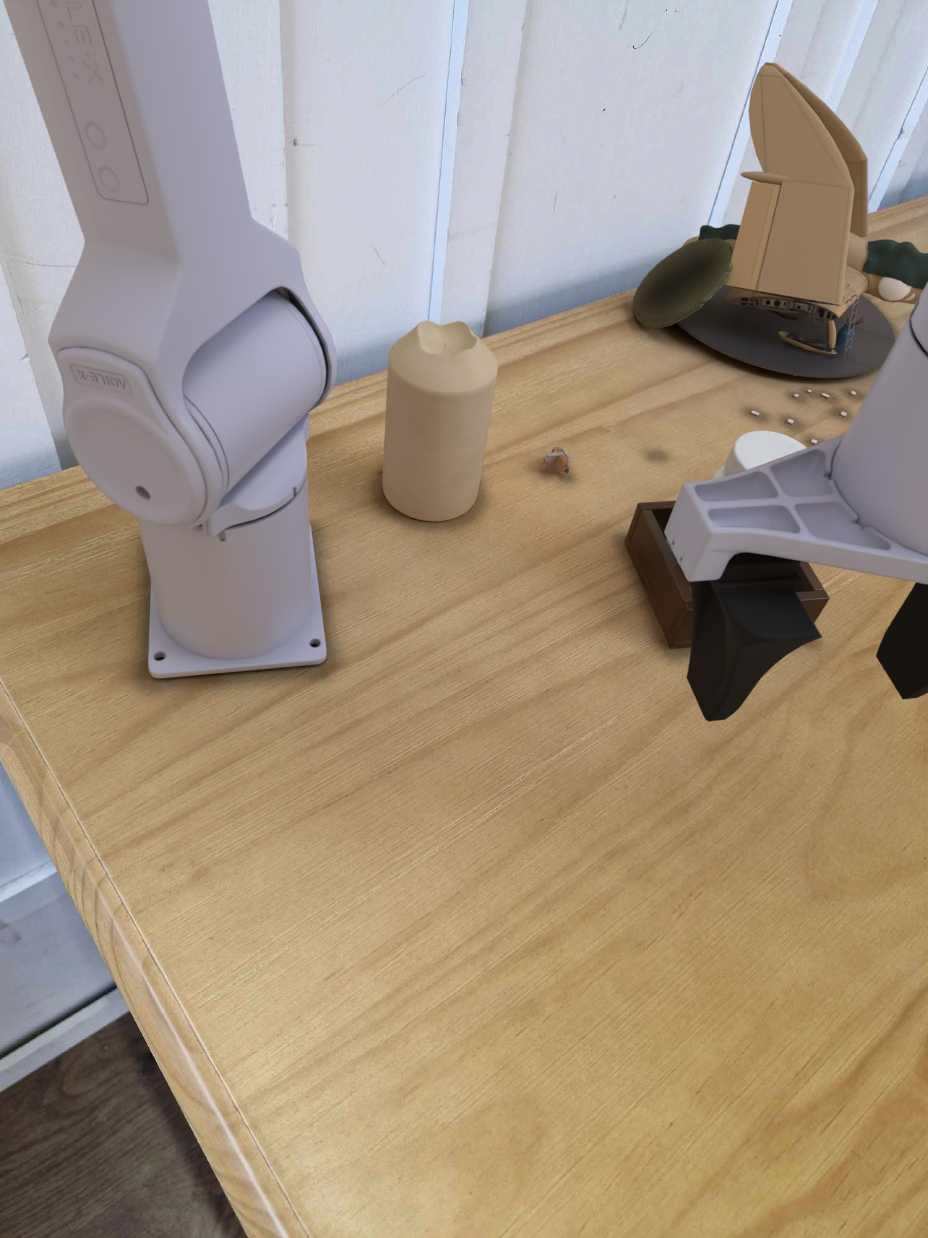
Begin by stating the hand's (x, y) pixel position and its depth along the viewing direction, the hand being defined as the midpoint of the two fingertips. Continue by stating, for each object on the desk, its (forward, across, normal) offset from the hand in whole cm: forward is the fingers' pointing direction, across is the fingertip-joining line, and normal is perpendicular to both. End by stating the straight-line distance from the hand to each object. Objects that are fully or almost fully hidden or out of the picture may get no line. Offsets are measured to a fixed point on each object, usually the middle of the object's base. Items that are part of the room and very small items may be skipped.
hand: (803, 686), depth 32 cm
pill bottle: (+9, +5, +13) cm, 17 cm away
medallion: (+6, +12, +40) cm, 42 cm away
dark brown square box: (+9, +5, +13) cm, 17 cm away
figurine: (+9, +2, +24) cm, 26 cm away
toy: (+9, +22, +40) cm, 46 cm away
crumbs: (+9, +19, +28) cm, 35 cm away
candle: (+10, -9, +22) cm, 26 cm away
